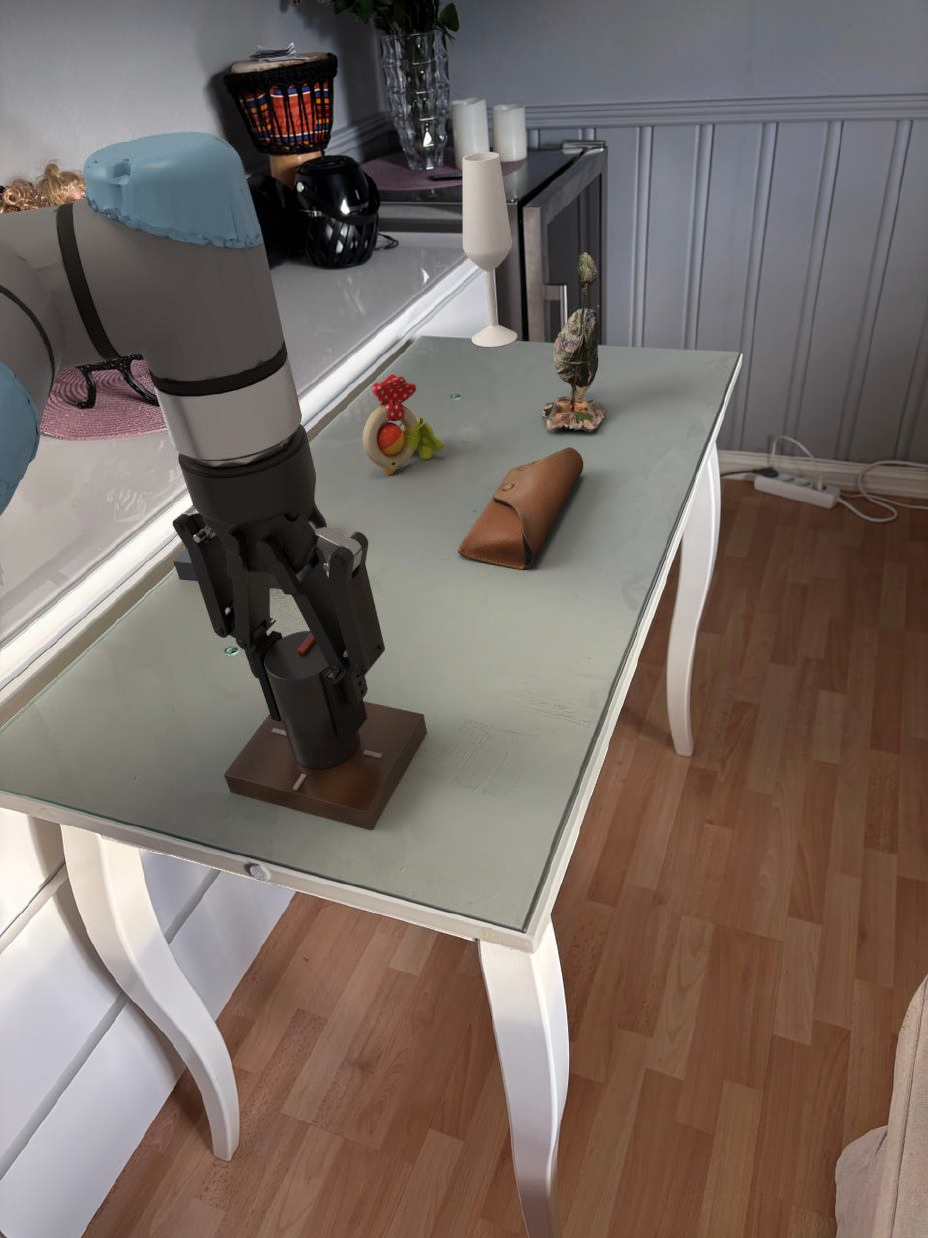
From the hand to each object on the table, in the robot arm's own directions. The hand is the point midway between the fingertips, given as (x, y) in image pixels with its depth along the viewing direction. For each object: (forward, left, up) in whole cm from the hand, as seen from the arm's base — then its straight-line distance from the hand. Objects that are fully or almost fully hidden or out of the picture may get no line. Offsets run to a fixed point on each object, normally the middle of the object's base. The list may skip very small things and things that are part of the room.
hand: (319, 718), depth 67 cm
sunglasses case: (+19, +31, -5) cm, 37 cm away
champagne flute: (+21, +79, -5) cm, 82 cm away
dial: (0, 0, -3) cm, 3 cm away
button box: (-9, +30, -5) cm, 32 cm away
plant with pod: (+28, +52, -5) cm, 59 cm away
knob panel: (0, 0, -5) cm, 5 cm away
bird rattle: (+7, +45, -5) cm, 46 cm away
